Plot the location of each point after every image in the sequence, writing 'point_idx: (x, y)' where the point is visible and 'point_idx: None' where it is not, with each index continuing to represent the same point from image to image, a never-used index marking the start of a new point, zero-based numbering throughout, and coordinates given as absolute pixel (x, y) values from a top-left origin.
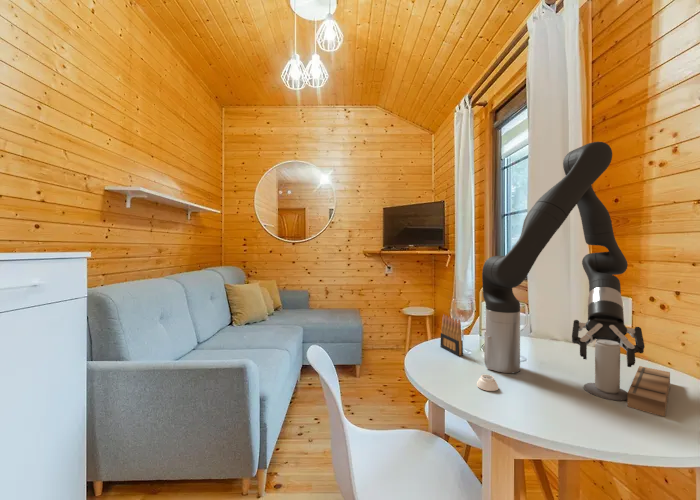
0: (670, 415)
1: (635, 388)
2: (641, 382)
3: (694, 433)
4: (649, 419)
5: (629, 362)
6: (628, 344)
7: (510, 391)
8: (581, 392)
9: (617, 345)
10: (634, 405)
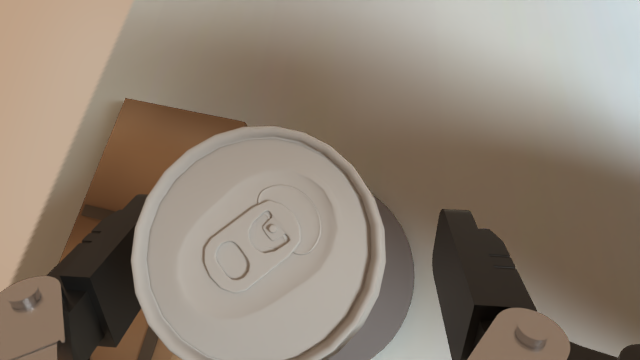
0: None
1: None
2: (137, 339)
3: (114, 44)
4: (212, 71)
5: None
6: (31, 319)
7: None
8: (421, 198)
9: (172, 171)
10: None
